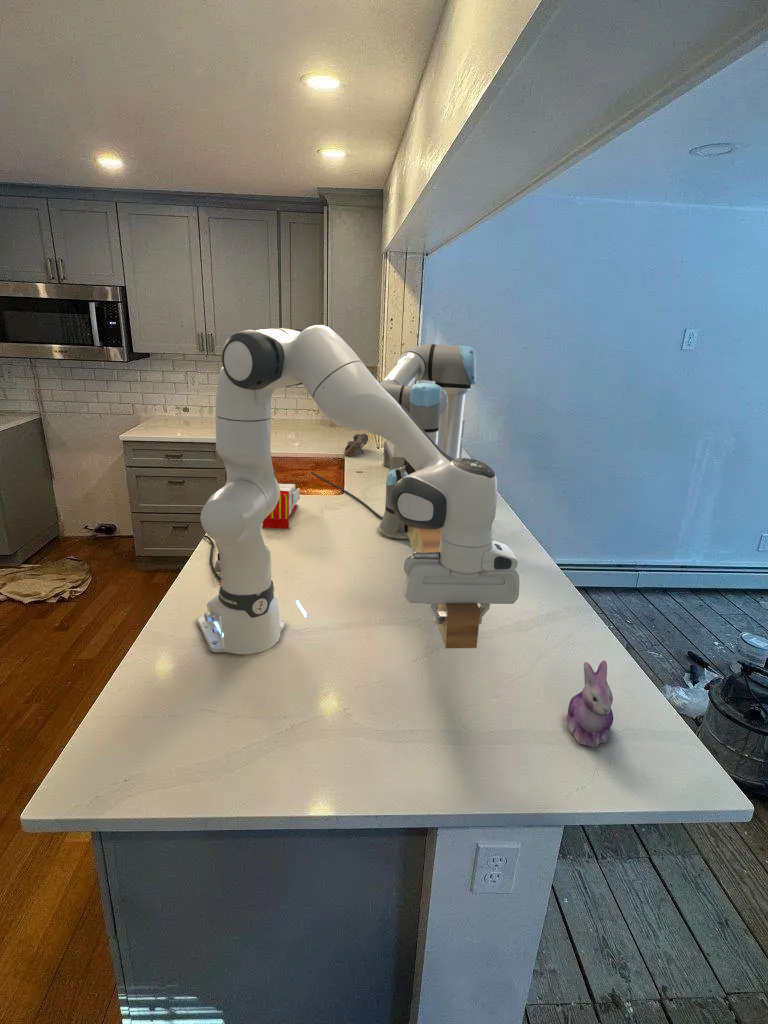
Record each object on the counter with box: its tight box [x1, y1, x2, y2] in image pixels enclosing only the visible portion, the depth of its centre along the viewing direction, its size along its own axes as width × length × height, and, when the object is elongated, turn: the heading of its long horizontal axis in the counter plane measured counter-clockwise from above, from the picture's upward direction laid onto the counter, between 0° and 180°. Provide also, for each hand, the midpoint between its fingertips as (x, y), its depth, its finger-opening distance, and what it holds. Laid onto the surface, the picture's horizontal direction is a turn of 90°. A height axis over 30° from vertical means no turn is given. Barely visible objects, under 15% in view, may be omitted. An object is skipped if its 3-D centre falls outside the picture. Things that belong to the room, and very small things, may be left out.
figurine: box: [566, 660, 614, 748], centre depth 106 cm, size 9×10×15 cm
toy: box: [262, 483, 301, 530], centre depth 210 cm, size 12×13×30 cm
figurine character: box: [214, 552, 221, 574], centre depth 166 cm, size 7×8×15 cm
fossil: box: [343, 432, 369, 457], centre depth 306 cm, size 22×10×15 cm
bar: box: [407, 526, 480, 650], centre depth 127 cm, size 60×6×8 cm, turn 5°
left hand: (457, 622), depth 103 cm, fingers closed on bar, 5 cm apart
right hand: (417, 530), depth 152 cm, fingers closed on bar, 6 cm apart
